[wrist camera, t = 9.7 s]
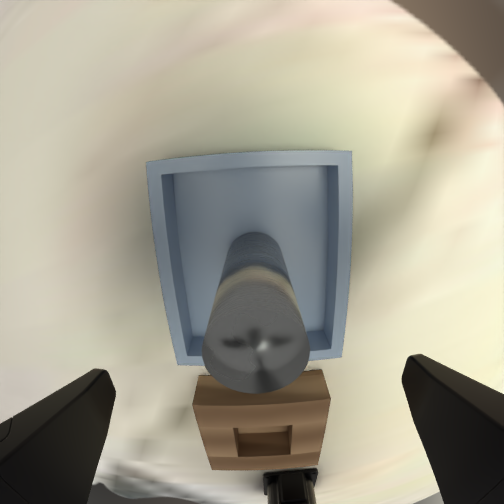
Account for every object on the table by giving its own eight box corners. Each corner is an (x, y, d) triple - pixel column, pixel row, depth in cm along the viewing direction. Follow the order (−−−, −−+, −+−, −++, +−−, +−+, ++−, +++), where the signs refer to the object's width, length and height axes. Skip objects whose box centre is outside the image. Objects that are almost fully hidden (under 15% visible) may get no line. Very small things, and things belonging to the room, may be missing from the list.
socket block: (312, 438, 25) (317, 464, 22) (214, 443, 25) (211, 469, 22) (321, 369, 22) (330, 398, 19) (199, 375, 22) (192, 405, 19)
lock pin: (282, 283, 19) (307, 390, 9) (228, 285, 19) (209, 393, 10) (281, 230, 18) (312, 305, 8) (224, 233, 18) (194, 310, 9)
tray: (331, 333, 21) (341, 357, 18) (185, 341, 21) (177, 364, 18) (336, 152, 17) (351, 151, 14) (162, 161, 17) (146, 161, 14)
